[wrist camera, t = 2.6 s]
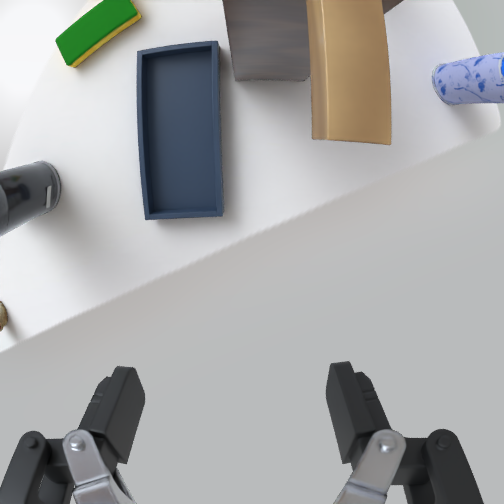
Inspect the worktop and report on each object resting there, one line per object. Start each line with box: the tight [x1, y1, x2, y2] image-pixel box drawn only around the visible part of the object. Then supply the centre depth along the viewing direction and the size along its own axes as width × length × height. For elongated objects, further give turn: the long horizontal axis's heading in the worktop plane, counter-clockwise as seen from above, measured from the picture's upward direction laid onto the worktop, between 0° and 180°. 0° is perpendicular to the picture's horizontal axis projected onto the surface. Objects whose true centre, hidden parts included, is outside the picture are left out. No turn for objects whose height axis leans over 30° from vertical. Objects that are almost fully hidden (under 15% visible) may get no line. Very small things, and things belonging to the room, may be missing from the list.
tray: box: [137, 41, 224, 220], centre depth 39 cm, size 12×26×3 cm, turn 1°
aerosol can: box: [432, 52, 504, 105], centre depth 27 cm, size 8×8×20 cm
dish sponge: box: [56, 0, 142, 67], centre depth 31 cm, size 7×14×2 cm, turn 119°
